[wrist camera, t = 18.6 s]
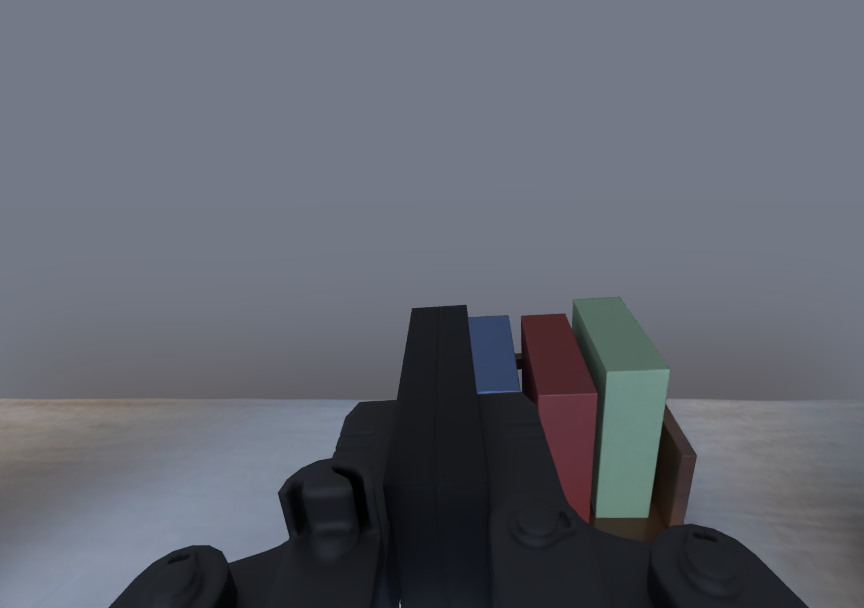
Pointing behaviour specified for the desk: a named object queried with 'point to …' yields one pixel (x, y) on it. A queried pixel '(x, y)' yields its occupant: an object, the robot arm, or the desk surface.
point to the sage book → (622, 405)
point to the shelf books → (562, 401)
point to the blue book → (493, 355)
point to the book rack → (657, 486)
